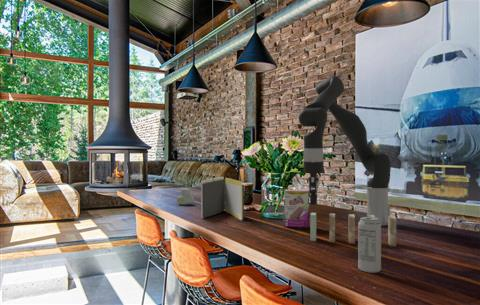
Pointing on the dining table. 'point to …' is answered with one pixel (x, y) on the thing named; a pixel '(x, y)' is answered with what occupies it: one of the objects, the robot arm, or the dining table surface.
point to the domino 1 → (313, 227)
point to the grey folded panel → (222, 197)
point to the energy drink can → (369, 245)
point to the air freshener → (185, 197)
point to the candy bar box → (296, 208)
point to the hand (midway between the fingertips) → (313, 203)
